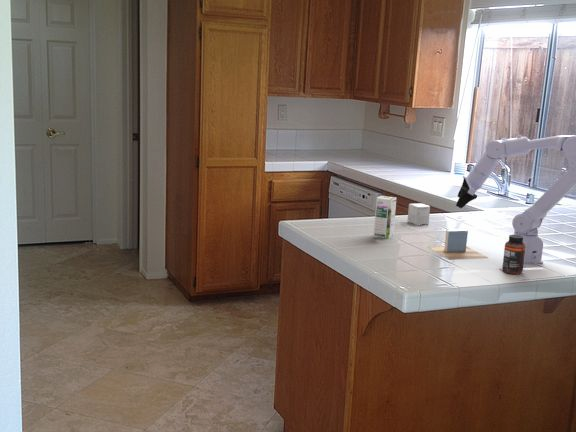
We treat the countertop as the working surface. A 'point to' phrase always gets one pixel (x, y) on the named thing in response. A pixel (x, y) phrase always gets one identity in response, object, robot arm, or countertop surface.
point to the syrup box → (384, 217)
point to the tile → (455, 240)
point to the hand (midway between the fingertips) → (459, 202)
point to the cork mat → (458, 253)
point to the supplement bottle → (514, 255)
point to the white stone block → (418, 214)
